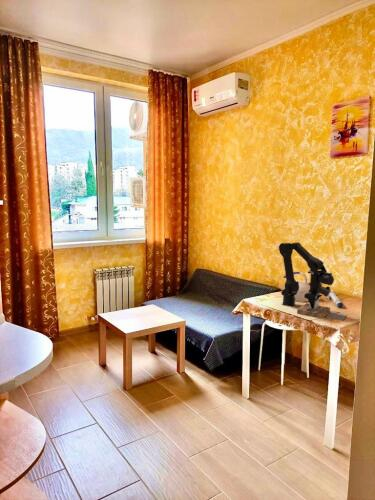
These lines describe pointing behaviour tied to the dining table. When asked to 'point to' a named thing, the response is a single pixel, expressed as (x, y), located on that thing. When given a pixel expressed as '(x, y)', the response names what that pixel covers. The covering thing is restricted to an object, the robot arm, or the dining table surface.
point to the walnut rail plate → (319, 313)
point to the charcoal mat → (336, 316)
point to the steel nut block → (314, 306)
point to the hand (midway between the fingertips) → (313, 307)
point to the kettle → (301, 288)
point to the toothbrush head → (335, 299)
